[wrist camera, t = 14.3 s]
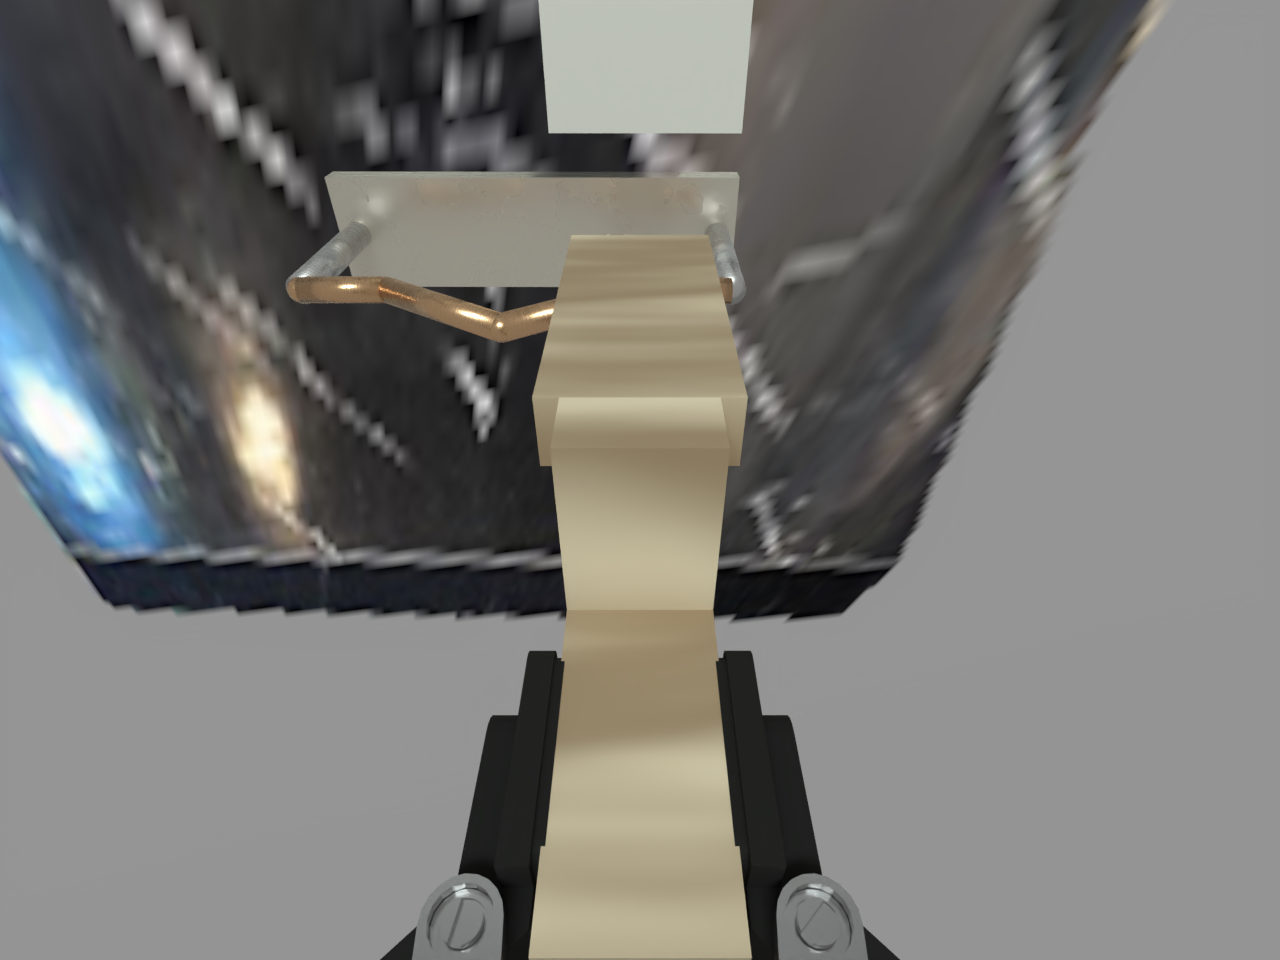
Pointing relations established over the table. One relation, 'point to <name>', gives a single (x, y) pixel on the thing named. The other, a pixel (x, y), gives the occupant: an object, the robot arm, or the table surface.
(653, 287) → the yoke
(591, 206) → the wire
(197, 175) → the table surface
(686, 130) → the pad
